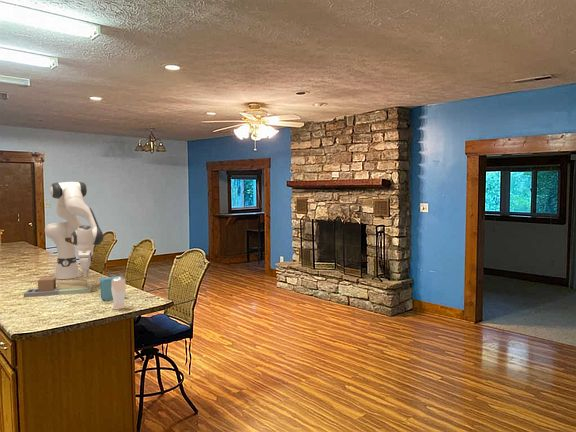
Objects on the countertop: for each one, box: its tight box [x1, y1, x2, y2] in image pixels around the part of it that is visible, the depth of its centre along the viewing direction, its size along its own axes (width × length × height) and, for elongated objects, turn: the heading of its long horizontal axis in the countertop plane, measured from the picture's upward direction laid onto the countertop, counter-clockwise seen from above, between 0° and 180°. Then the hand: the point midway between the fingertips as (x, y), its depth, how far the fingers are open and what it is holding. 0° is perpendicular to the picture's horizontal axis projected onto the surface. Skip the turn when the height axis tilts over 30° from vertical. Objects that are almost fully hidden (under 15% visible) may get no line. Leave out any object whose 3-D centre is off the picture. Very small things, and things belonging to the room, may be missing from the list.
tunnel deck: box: [23, 276, 93, 298], centre depth 268 cm, size 13×35×9 cm, turn 108°
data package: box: [99, 275, 124, 302], centre depth 250 cm, size 12×4×12 cm, turn 128°
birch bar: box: [56, 279, 88, 290], centre depth 270 cm, size 4×16×4 cm, turn 108°
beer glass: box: [111, 277, 127, 310], centre depth 230 cm, size 7×7×15 cm
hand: (86, 274), depth 273 cm, fingers open, 8 cm apart
